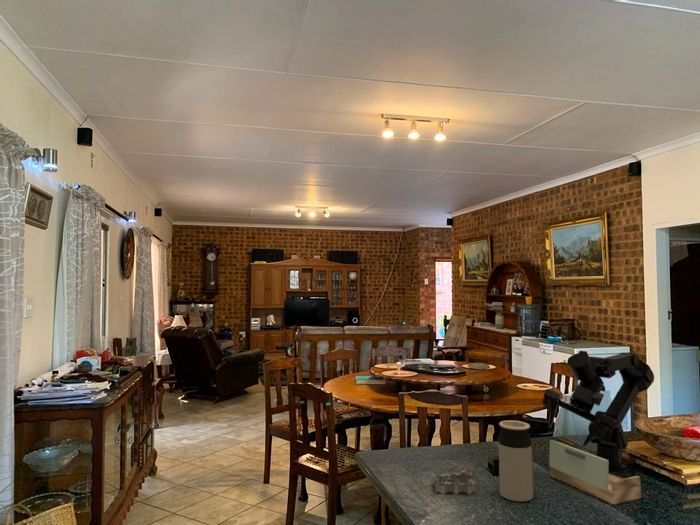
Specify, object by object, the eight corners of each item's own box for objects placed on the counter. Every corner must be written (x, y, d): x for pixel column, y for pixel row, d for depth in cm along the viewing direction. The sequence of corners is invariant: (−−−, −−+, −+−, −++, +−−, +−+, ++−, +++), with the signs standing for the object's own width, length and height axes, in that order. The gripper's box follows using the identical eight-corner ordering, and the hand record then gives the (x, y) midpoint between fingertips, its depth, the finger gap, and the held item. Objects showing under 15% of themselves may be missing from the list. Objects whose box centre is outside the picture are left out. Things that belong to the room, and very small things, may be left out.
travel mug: (529, 505, 118) (527, 430, 119) (496, 498, 122) (494, 425, 123) (535, 493, 125) (533, 422, 126) (504, 487, 129) (502, 418, 130)
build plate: (516, 480, 135) (516, 464, 135) (491, 482, 134) (491, 465, 134) (498, 465, 147) (498, 449, 147) (475, 466, 146) (474, 450, 146)
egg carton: (471, 484, 131) (471, 469, 132) (476, 496, 124) (476, 480, 124) (432, 483, 132) (432, 468, 133) (434, 495, 125) (434, 478, 125)
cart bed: (576, 470, 140) (576, 452, 141) (641, 498, 122) (640, 476, 122) (550, 476, 137) (549, 457, 137) (612, 504, 118) (611, 482, 118)
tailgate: (552, 465, 136) (553, 439, 136) (608, 489, 119) (608, 460, 120) (547, 465, 135) (548, 440, 136) (602, 490, 119) (603, 460, 119)
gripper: (557, 362, 138) (534, 405, 130) (628, 393, 128) (608, 441, 120) (553, 382, 146) (531, 424, 138) (620, 413, 136) (600, 460, 128)
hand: (566, 436), depth 131 cm, fingers open, 9 cm apart
